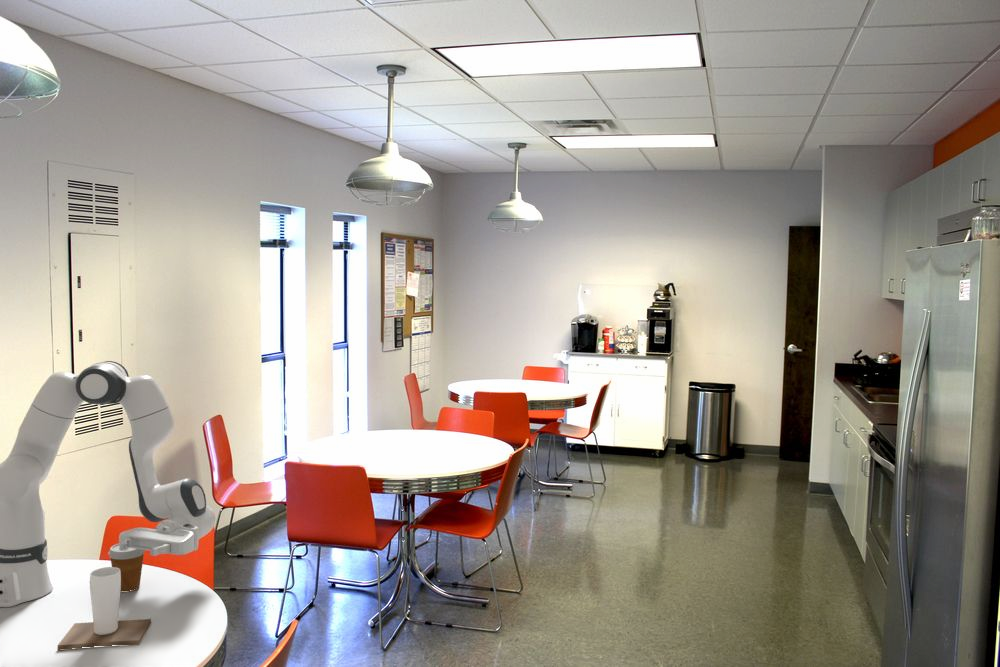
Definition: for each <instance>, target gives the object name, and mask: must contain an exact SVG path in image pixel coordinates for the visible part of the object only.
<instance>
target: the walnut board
mask: <svg viewBox="0 0 1000 667" xmlns="http://www.w3.org/2000/svg"><path fill="white" fill-rule="evenodd" d="M151 624H152V618H141V619H140V618H139V619H126V620H125V619H123V620H118V629H117V630H116V631H115V632H113V633H111V634H107V635H97V634H95V633H94V623H93V622H75V623H73V625H72V626H71V628H70V629H69V630H68V631H67V632H66V633H65V635H64V636H63V638H62V639H61V640H60V641H59V643H58V644H57V651H61V650H60V649H69V650H73V649H72V648H82V647H94V646H112V645H129V646H139V645H141V643H140V642H142V641H143V639H144V637H145V635H146V633H147V632H148V629H149V628H150V626H151Z"/></svg>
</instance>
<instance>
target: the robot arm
mask: <svg viewBox="0 0 1000 667" xmlns="http://www.w3.org/2000/svg"><path fill="white" fill-rule="evenodd" d="M84 402H85V403H88V404H91V405H112V404H114V405H115V404H120V405H121V406H122V407H123V409H124V411H125V413H126V416H127V419H128V421H129V423H130V427H131V428H130V429H131V438H130V440H129V442H128V453H129V458H130V459H129V460H130V463H131V467H132V471H133V472H132V473H133V477H134V480H135V484H136V488H137V493H138V494H137V495H138V497H137V498H138V509H139V511H140V513H141V515H142V516H143V517H144V519H146V520H148V521H149V522H151V523H158V524H157V525H156V527H155V528H150V527H144V526H143V527H134V528H131V529H128V530H124V531H122V532H120V533H119V535H118V544H119V550H120V551H126V550H128V549H129V548H134V549H141V550H145V551H147V552H148V551H149V552H150V553H149V555H150V556H155V557H156V556H158V555H164V554H166V555H167V554H168V555H175V556H184V555H187V554H189V553H192V552H195V551H197V550H198V549H199V541H200V539H201V538H203V537H205V536H206V535H207V534H209V533H210V532H211V531H212V529H213V528H214V526H215V523H216V514H215V511H214V510H213V509H212V508H211V507H210V506H209V505H208V504H207V498H206V494H205V490H204V488H203V487H202V486H201V484H200V483H199V482H198V481H196V480H195V479H193V478H190V477H188V478H183V479H180V480H176V481H173V482H169V483H166V484H163V485H161V484H160V483H159V481H158V479H157V474H156V473H157V472H156V469H155V464H154V460H153V457H154V453H155V451H156V449H157V448H158V447H159V446H160V445H161V444H162V443H164V441H166V440H167V439H168V438H169V436H171V434H172V432H173V430H174V427H175V419H174V415H173V413H172V410H171V407H170V404H169V402H168V399H167V398H166V396H165V393H164V392H163V390H162V388H161V387H160V385H159V384H158V381H157V380H156V379H155V378H154V377H153V376H150V375H146V374H145V375H144V374H141V375H140V374H139V375H136V376H132V377H131V376H130V375H129V373H128V370H127V369H126V368H125V366H123V365H122V364H121V363H118V362H117V361H112V360H110V361H109V360H105V361H101V362H96V363H93V364H92V365H90V366H88V367H86V368H85V369H83V370H82V371H81V372H80V373H79V374H75V373H71V372H68V371H57V372H54V373H52V374H51V375H50V376H49V377H48V378H47V380H46V381H44V384H42V385H41V387H40V389H39V390H38V392H37V393H36V395H35V397H34V399H33V401H32V403H31V404H30V406H29V408H28V410H27V412H26V413H25V416H24V418H23V420H22V423H21V424H20V425H19V428H18V432H17V435H16V438H15V441H14V444H13V446H12V449H11V451H10V453H9V454H8V456H7V457H6V458H5V460H4V461H3V462H1V463H0V608H10V607H14V606H17V605H19V604H22V603H25V602H28V601H29V602H30V601H33V600H36V599H39V598H42V597H44V596H47V595H48V594H49V593H51V592H52V591H53V588H54V587H53V584H52V582H51V579H50V575H49V571H48V565H47V564H48V563H47V560H48V554H49V552H48V549H49V548H48V541H47V539H46V526H45V525H46V522H45V520H46V519H45V511H44V509H43V505H42V502H41V497H40V486H41V484H42V483H44V481H45V480H46V478H47V477H48V475H49V473H50V471H51V468H52V467H53V464H54V462H55V460H56V457H57V455H58V452H59V450H60V448H61V447H60V446H61V444H62V442H63V440H64V438H65V436H66V434H67V432H68V431H69V429H70V427H71V424H72V422H73V420H74V418H75V417H76V415H77V412H78V410H79V409H80V407H81V405H82V404H83V403H84Z"/></svg>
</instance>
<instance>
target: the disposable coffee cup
mask: <svg viewBox="0 0 1000 667" xmlns="http://www.w3.org/2000/svg"><path fill="white" fill-rule="evenodd" d="M145 552H146V550H141V549H134V548H129V549H128V550H126V551H120V550H119V543H116V544H114V545H112V546H111V547H110V548H109V551H108V553H107V554H108V556H109V558H110V562H111V563H110V564H111V567H116V568H119V569H120V572H121V591H129V592H131V591H130V590H133V591H135V590H134V589H136V588H138V587H139V586H140V585H141V578H142V569H143V563H144V562H143V561H144V556H145V555H144V554H145ZM140 587H141V586H140ZM140 587H139V588H140ZM139 588H138V589H139ZM136 590H137V589H136Z"/></svg>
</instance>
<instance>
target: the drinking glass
mask: <svg viewBox="0 0 1000 667" xmlns="http://www.w3.org/2000/svg"><path fill="white" fill-rule="evenodd" d="M89 574H90V575H89V594H90V595H89V596H90V600H91V612H92V620H93V623H94V633H95V634H97V635H107V634H111V633H113V632H115V631H116V630H117V629H118V621H119V611H120V600H121V592H120V591H121V572H120V569H119V568H116V567H112V566H106V567H100V568H96V569H95V570H92V571H91V572H90V573H89Z"/></svg>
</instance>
